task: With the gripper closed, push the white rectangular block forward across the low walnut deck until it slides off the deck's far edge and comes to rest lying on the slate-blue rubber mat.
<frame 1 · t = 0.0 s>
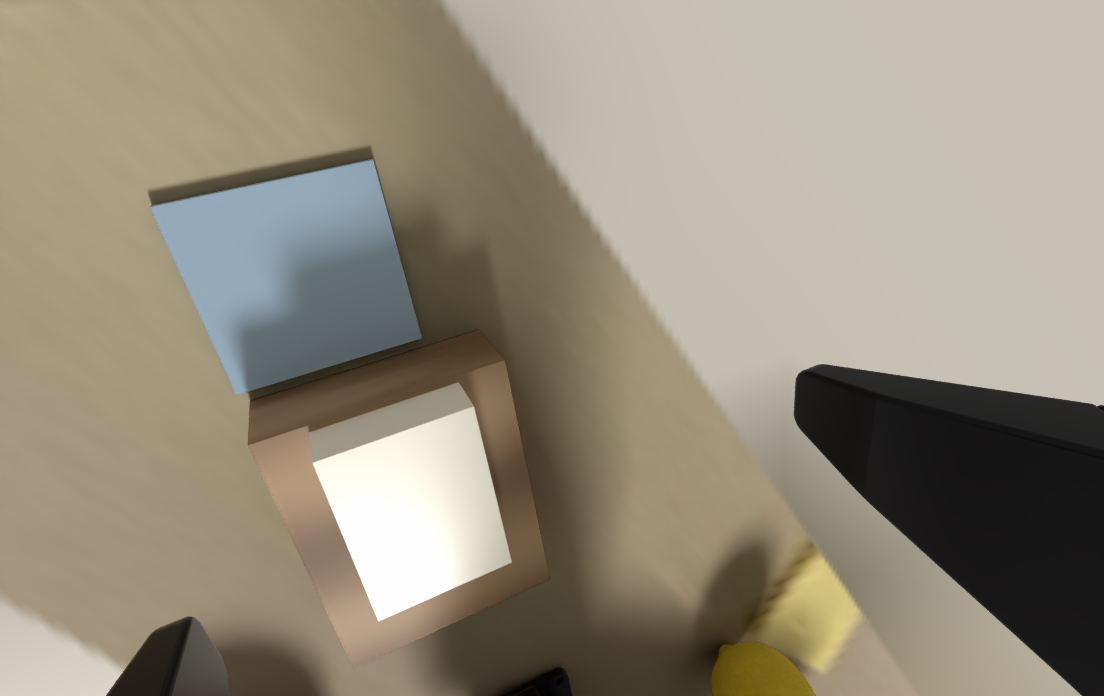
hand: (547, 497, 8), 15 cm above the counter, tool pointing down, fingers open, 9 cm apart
white rectangular block: (412, 487, 21), point 3 cm above the counter, touching deck
deck: (408, 478, 25), on the counter
lemon: (720, 644, 40), on the counter
mat: (302, 278, 20), on the counter
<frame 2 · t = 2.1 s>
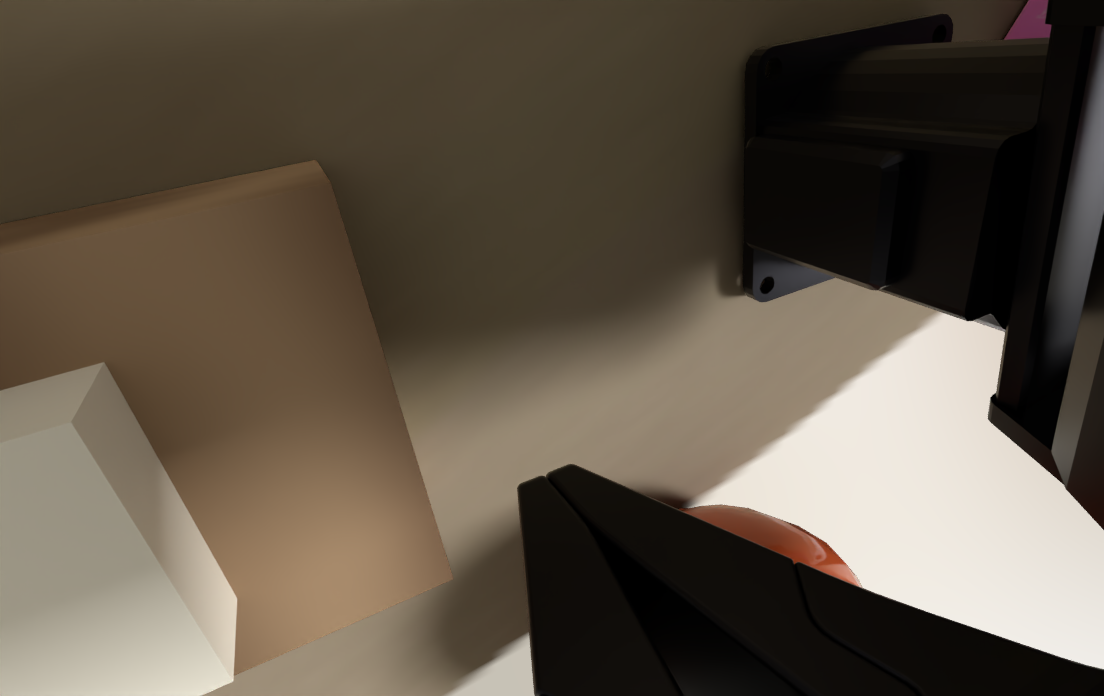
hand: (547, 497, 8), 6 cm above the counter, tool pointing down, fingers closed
tomato: (667, 551, 21), on the counter
deck: (99, 439, 12), on the counter
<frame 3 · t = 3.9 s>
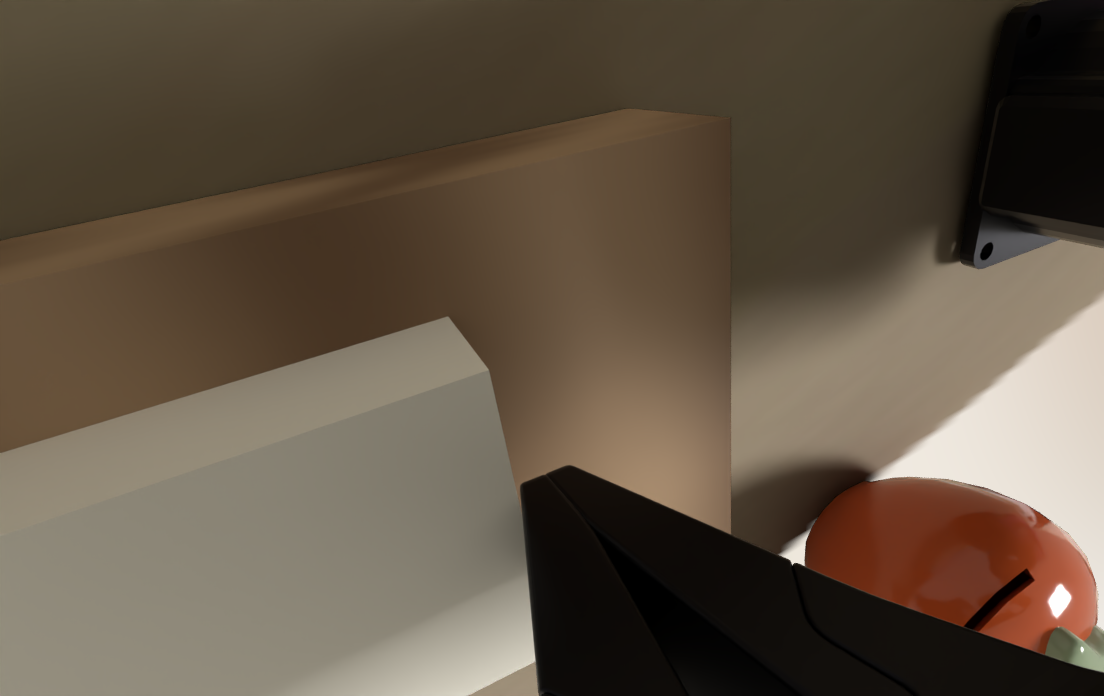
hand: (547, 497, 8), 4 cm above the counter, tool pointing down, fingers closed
tomato: (842, 525, 21), on the counter
white rectangular block: (249, 549, 8), point 3 cm above the counter, touching deck, gripper
deck: (400, 390, 12), on the counter
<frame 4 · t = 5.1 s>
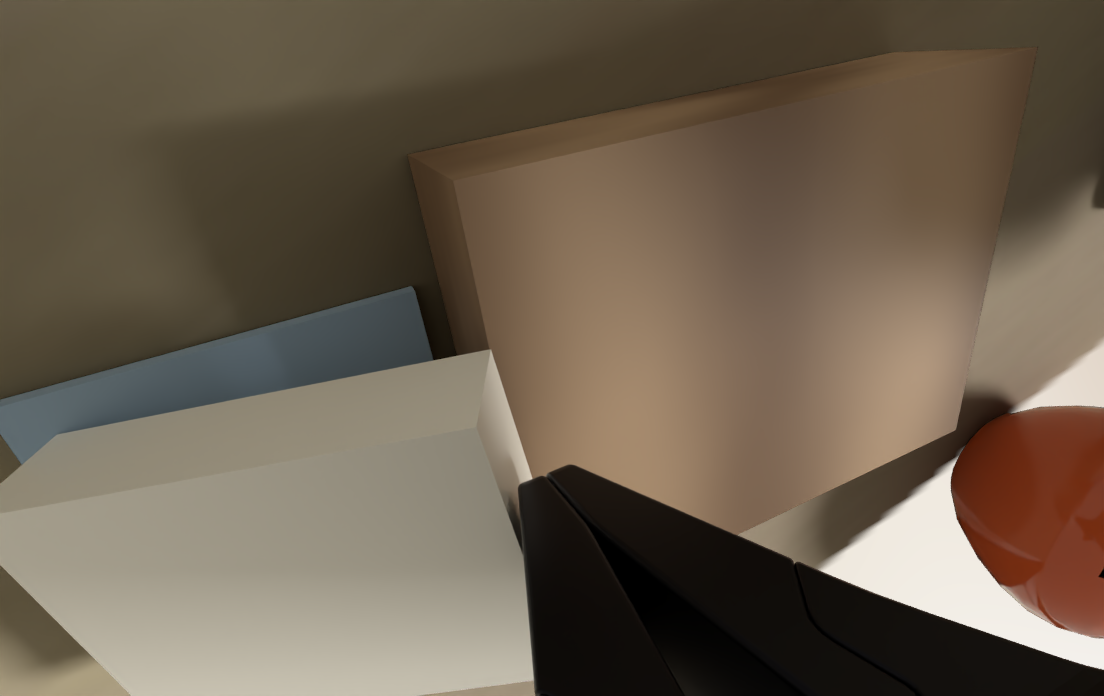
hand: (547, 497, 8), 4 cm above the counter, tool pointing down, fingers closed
tomato: (981, 456, 22), on the counter
white rectangular block: (331, 513, 10), point 2 cm above the counter, tilted 24°, touching deck
deck: (690, 295, 14), on the counter
mat: (288, 487, 12), on the counter
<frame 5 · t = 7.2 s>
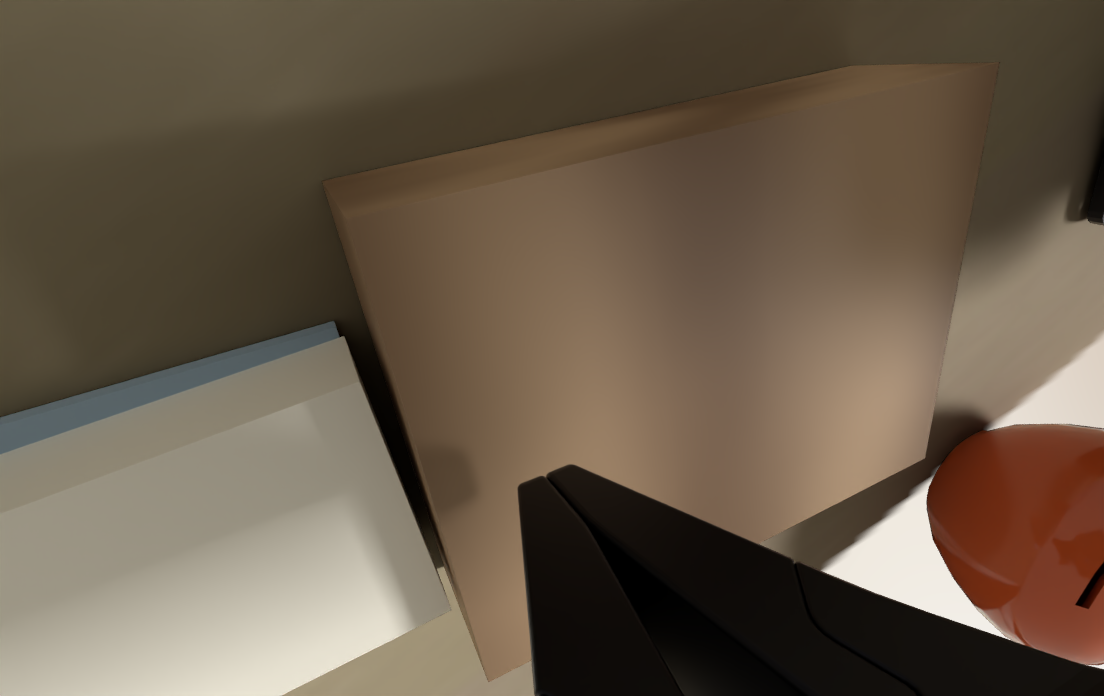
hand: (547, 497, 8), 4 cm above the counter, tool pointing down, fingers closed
tomato: (957, 474, 22), on the counter
white rectangular block: (191, 533, 10), resting on mat
deck: (644, 322, 13), on the counter
mat: (205, 537, 11), on the counter
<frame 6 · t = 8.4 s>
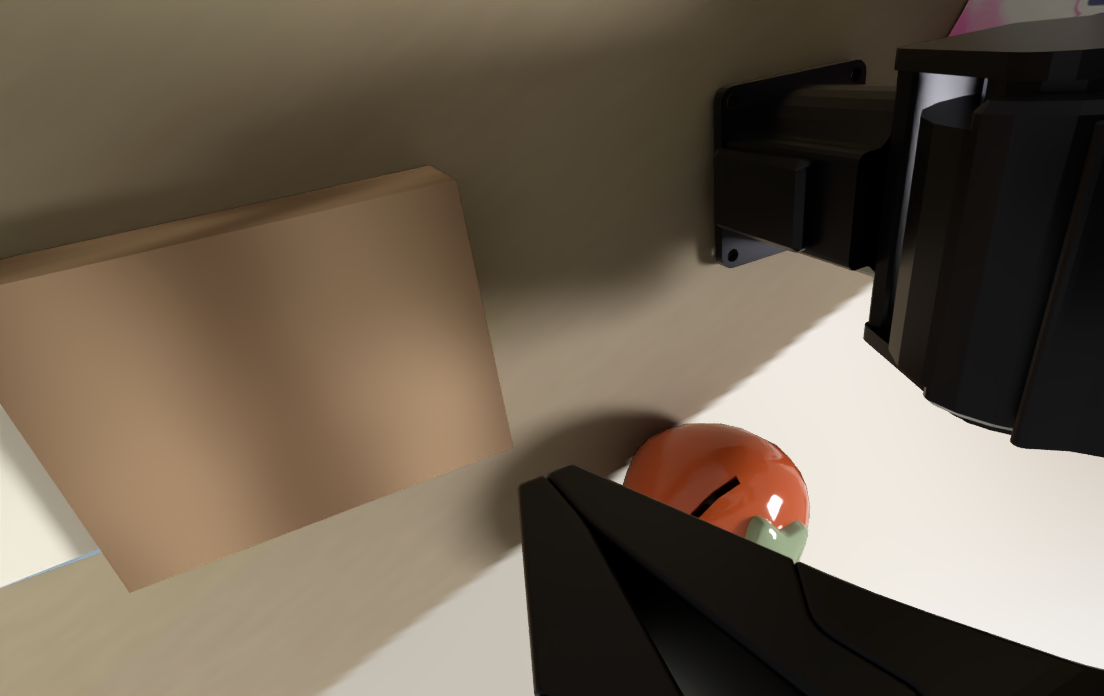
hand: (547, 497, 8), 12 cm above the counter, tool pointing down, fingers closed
tomato: (661, 464, 27), on the counter
deck: (286, 347, 18), on the counter
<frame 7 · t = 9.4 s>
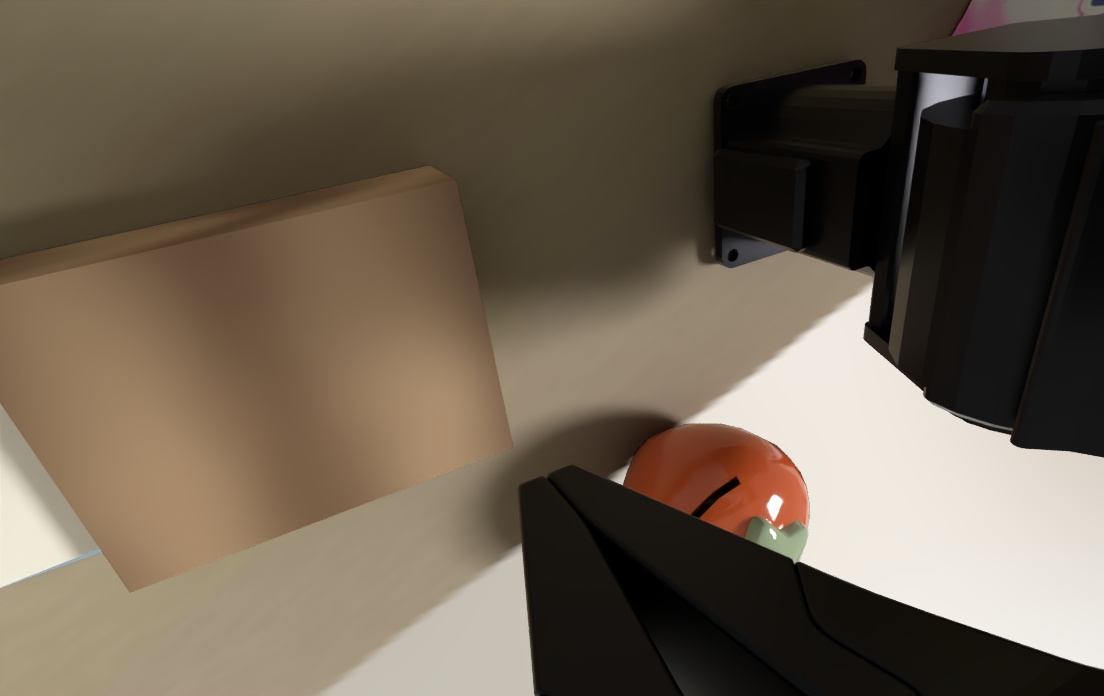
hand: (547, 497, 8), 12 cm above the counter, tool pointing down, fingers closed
tomato: (661, 464, 27), on the counter
deck: (286, 347, 18), on the counter
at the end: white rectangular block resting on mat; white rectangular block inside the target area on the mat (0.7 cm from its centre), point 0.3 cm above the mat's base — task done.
